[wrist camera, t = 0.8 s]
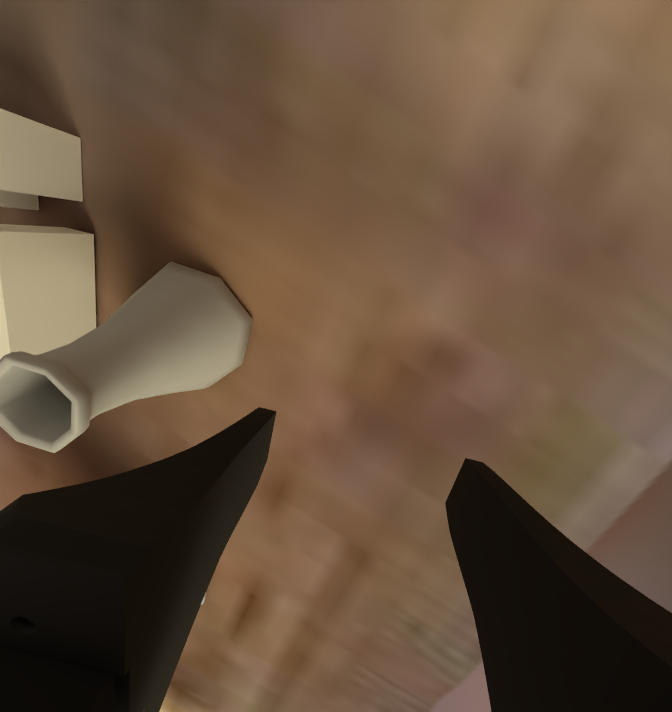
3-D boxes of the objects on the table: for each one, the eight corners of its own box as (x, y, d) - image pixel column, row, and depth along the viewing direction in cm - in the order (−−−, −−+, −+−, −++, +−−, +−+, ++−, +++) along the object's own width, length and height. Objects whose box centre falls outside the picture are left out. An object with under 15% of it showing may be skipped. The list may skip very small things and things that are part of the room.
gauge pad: (97, 366, 20) (3, 410, 15) (72, 360, 20) (-30, 402, 15) (91, 162, 16) (-38, 124, 11) (61, 154, 16) (-83, 113, 11)
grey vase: (116, 337, 20) (-107, 422, 11) (166, 236, 18) (-60, 229, 8) (216, 403, 21) (94, 535, 11) (275, 315, 19) (184, 390, 9)
